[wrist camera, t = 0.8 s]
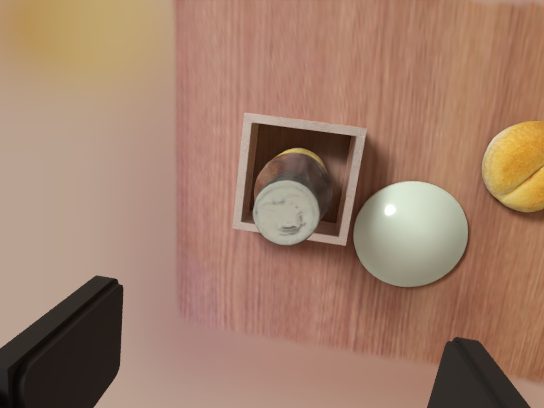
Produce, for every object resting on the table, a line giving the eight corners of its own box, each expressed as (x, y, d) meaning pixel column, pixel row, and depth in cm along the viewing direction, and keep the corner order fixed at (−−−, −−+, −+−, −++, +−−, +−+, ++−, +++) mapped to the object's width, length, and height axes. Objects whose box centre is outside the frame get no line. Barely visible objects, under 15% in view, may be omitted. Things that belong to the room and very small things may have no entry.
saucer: (477, 189, 39) (480, 190, 38) (450, 291, 42) (453, 294, 41) (363, 173, 40) (364, 174, 39) (344, 274, 43) (345, 277, 42)
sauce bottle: (314, 210, 42) (314, 289, 22) (262, 190, 42) (218, 253, 22) (335, 155, 40) (356, 189, 21) (281, 135, 40) (251, 151, 21)
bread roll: (525, 105, 37) (549, 104, 33) (584, 167, 38) (615, 172, 34) (459, 164, 39) (475, 169, 35) (516, 222, 40) (538, 233, 36)
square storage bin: (360, 127, 39) (367, 128, 34) (342, 230, 42) (345, 245, 37) (252, 113, 40) (244, 112, 35) (241, 215, 43) (232, 228, 38)
